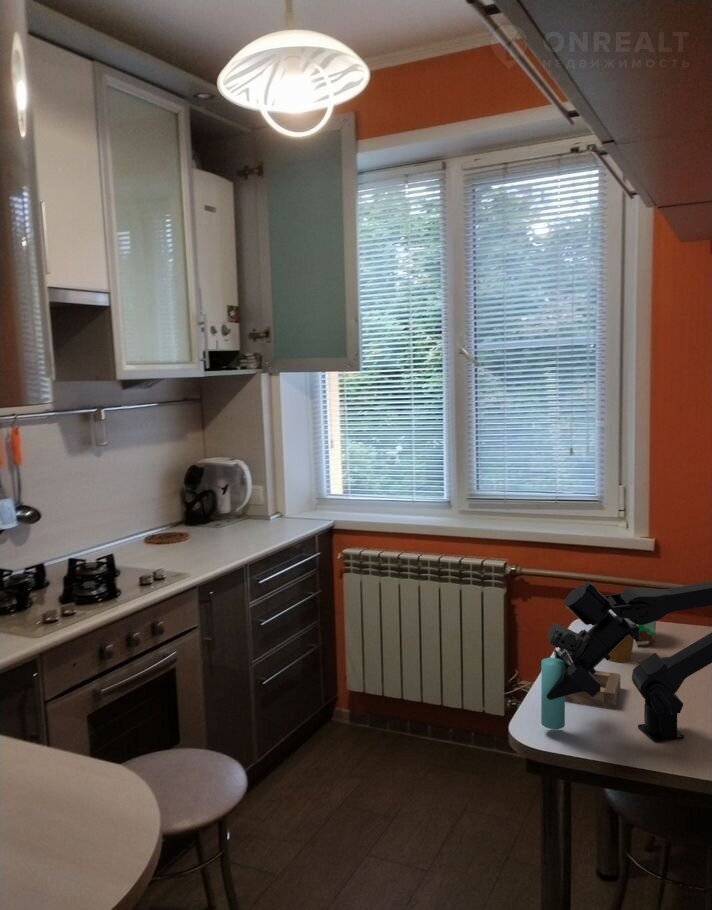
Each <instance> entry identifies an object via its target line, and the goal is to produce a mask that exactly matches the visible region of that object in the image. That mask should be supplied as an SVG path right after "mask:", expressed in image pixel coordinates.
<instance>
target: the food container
mask: <svg viewBox="0 0 712 910" xmlns="http://www.w3.org/2000/svg"><path fill="white" fill-rule="evenodd" d="M636 625H637V624H636ZM637 626H638V627H639V628H640V629H639V639H640V640H639V641H638V642H637V641H635V640H634V641H633V642H634V643H635V645H636V647H637V648H649V647H651V646H654V644H655V638H656V630H657V629H656V628H657V627H656V626H657V621H654V622H651V623H648V624H645V625H637Z"/></svg>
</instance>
